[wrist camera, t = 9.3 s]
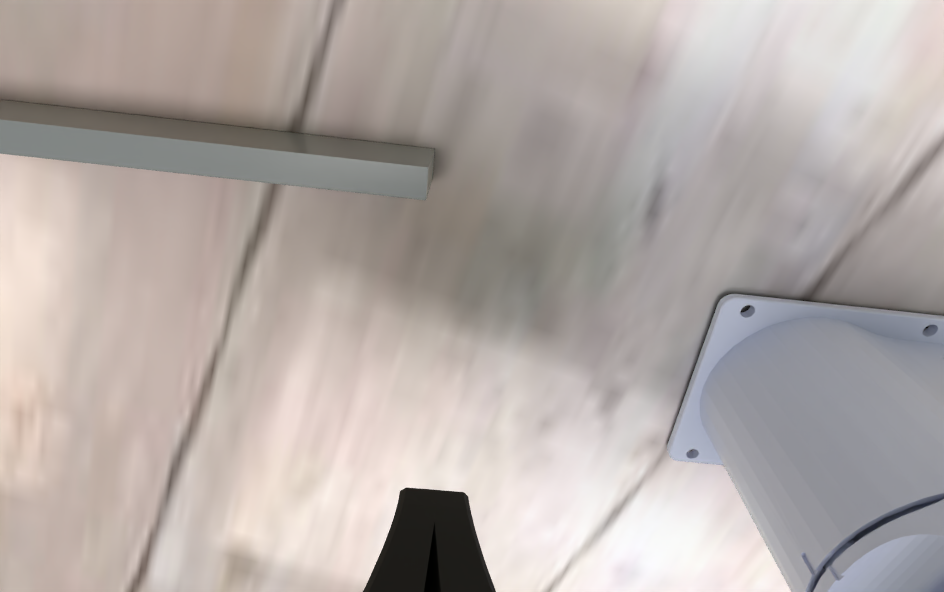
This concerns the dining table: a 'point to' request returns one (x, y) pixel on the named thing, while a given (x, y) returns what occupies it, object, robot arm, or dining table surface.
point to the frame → (214, 150)
